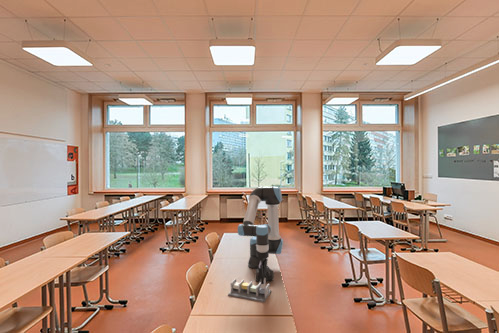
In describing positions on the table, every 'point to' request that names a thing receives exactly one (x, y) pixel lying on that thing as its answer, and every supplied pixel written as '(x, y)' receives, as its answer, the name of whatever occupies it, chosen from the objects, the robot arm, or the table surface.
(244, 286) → the key mustard
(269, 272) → the camera
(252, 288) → the key sage
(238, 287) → the key cream
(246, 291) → the grey slotted rack
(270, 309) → the table surface
